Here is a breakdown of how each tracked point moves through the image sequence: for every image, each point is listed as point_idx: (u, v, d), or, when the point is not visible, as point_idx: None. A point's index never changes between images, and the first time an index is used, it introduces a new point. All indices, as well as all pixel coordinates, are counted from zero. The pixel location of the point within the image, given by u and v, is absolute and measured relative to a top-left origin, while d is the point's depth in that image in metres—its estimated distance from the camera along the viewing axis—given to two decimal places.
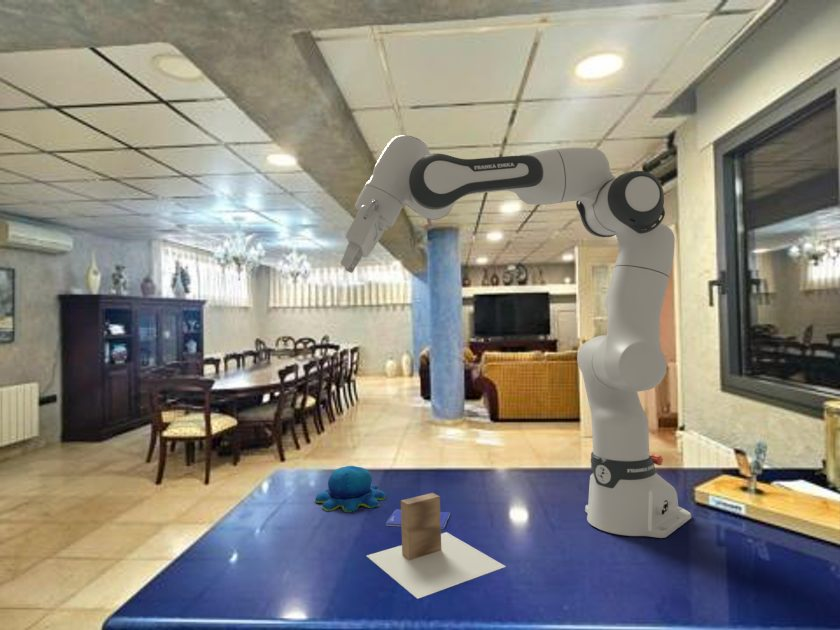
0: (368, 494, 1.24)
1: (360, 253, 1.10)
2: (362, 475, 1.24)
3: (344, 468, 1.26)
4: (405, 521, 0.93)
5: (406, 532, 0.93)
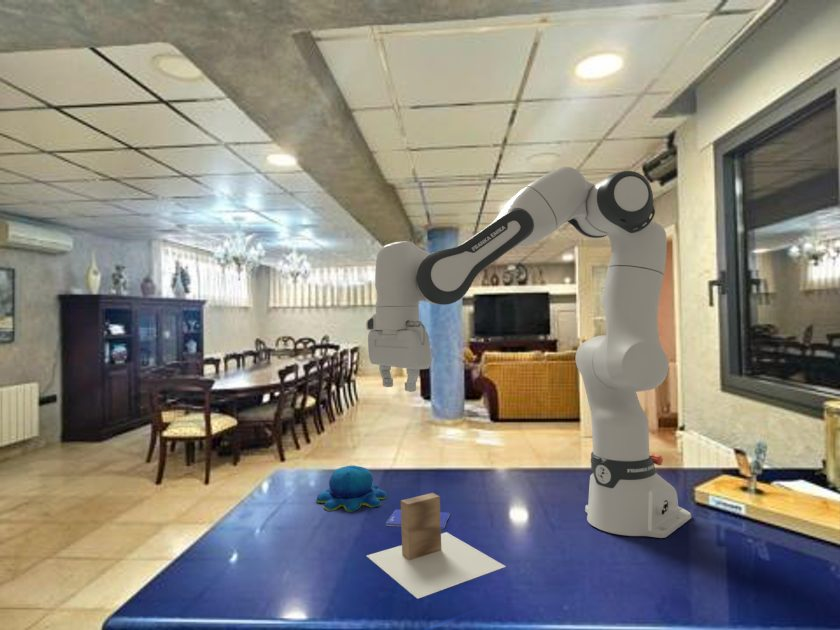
0: (369, 493, 1.25)
1: None
2: (363, 475, 1.24)
3: (345, 468, 1.26)
4: (405, 521, 0.93)
5: (406, 532, 0.93)
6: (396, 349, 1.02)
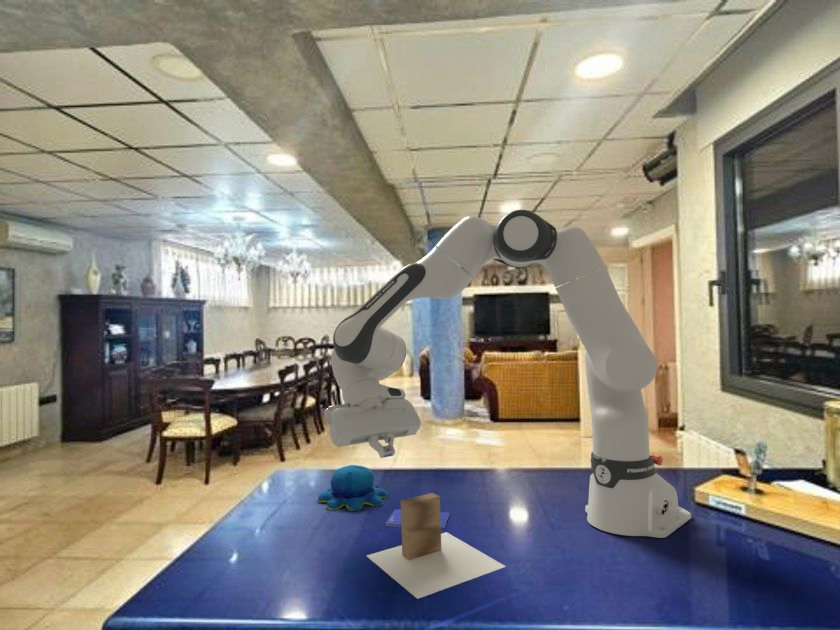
0: (371, 493, 1.25)
1: (386, 434, 1.09)
2: (365, 474, 1.25)
3: (347, 467, 1.27)
4: (405, 521, 0.93)
5: (406, 532, 0.93)
6: None
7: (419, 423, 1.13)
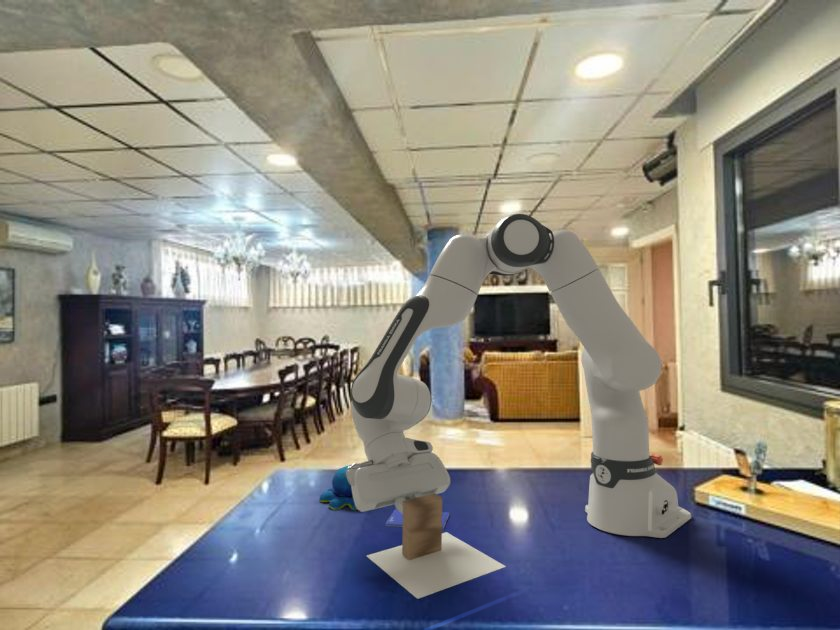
0: None
1: (413, 495, 1.00)
2: None
3: (348, 467, 1.27)
4: (407, 522, 0.93)
5: (407, 533, 0.92)
6: None
7: (448, 480, 1.04)
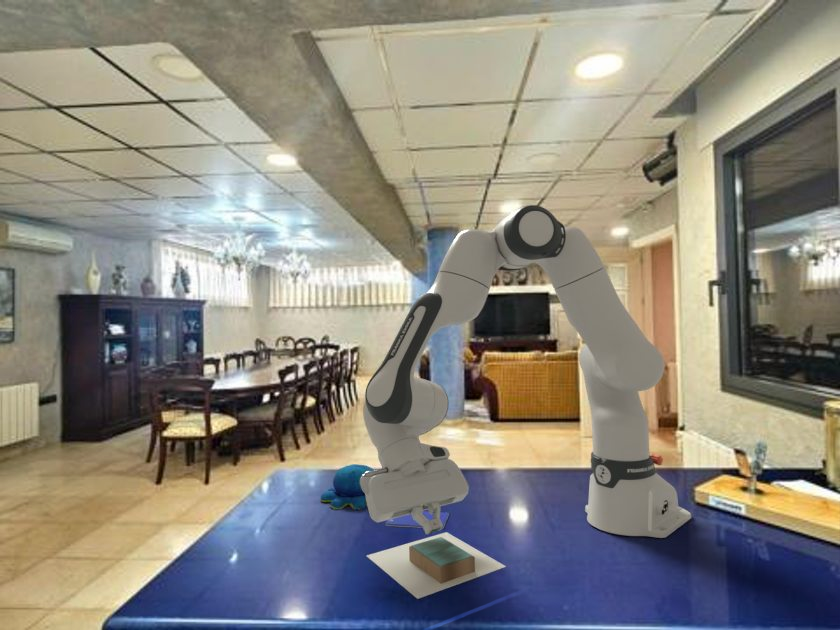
0: None
1: (430, 504, 0.94)
2: None
3: (349, 467, 1.27)
4: (429, 569, 0.86)
5: (423, 567, 0.88)
6: None
7: (467, 488, 0.98)
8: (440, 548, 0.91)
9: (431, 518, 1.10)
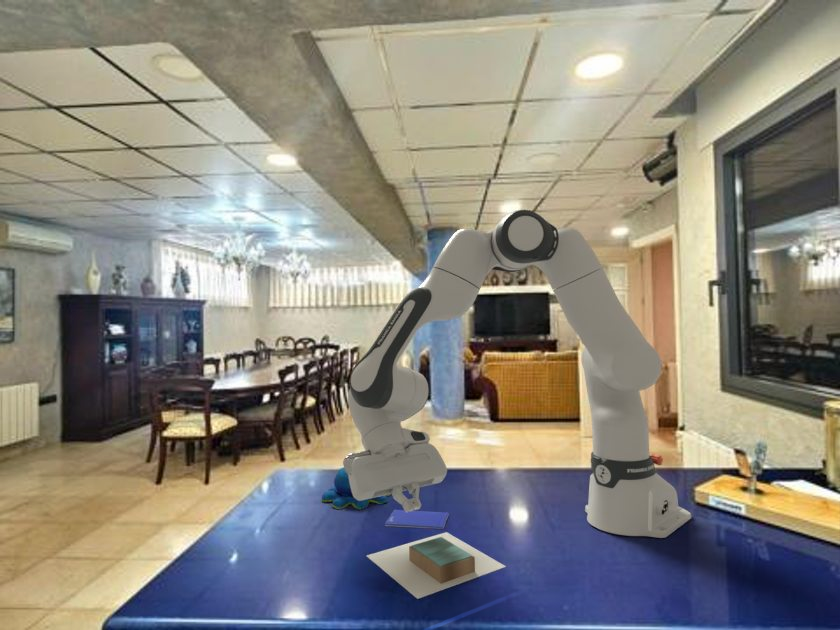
0: None
1: (410, 484, 1.00)
2: None
3: None
4: (429, 569, 0.86)
5: (423, 567, 0.88)
6: None
7: (445, 471, 1.04)
8: (440, 548, 0.91)
9: (431, 518, 1.10)
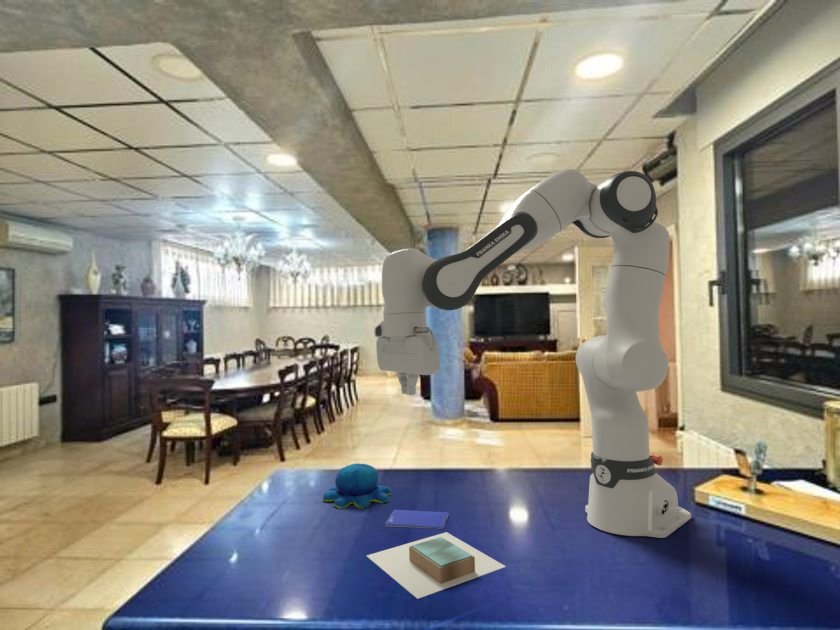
0: (376, 490, 1.27)
1: None
2: (371, 472, 1.27)
3: (352, 466, 1.28)
4: (429, 569, 0.86)
5: (423, 567, 0.88)
6: (405, 355, 1.03)
7: None
8: (440, 548, 0.91)
9: (431, 518, 1.10)
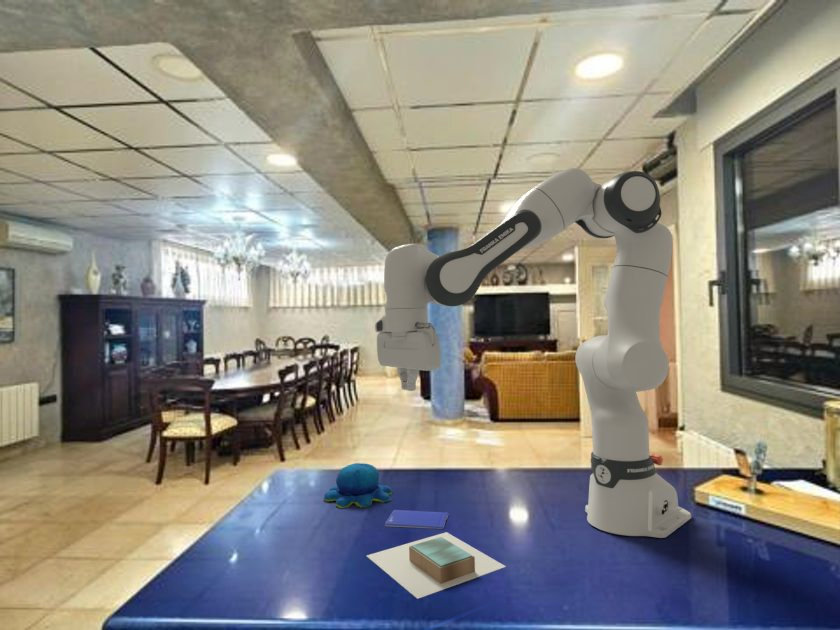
0: (378, 489, 1.27)
1: None
2: (372, 471, 1.27)
3: (353, 465, 1.28)
4: (429, 569, 0.86)
5: (423, 567, 0.88)
6: (406, 351, 1.03)
7: None
8: (440, 548, 0.91)
9: (431, 518, 1.10)
